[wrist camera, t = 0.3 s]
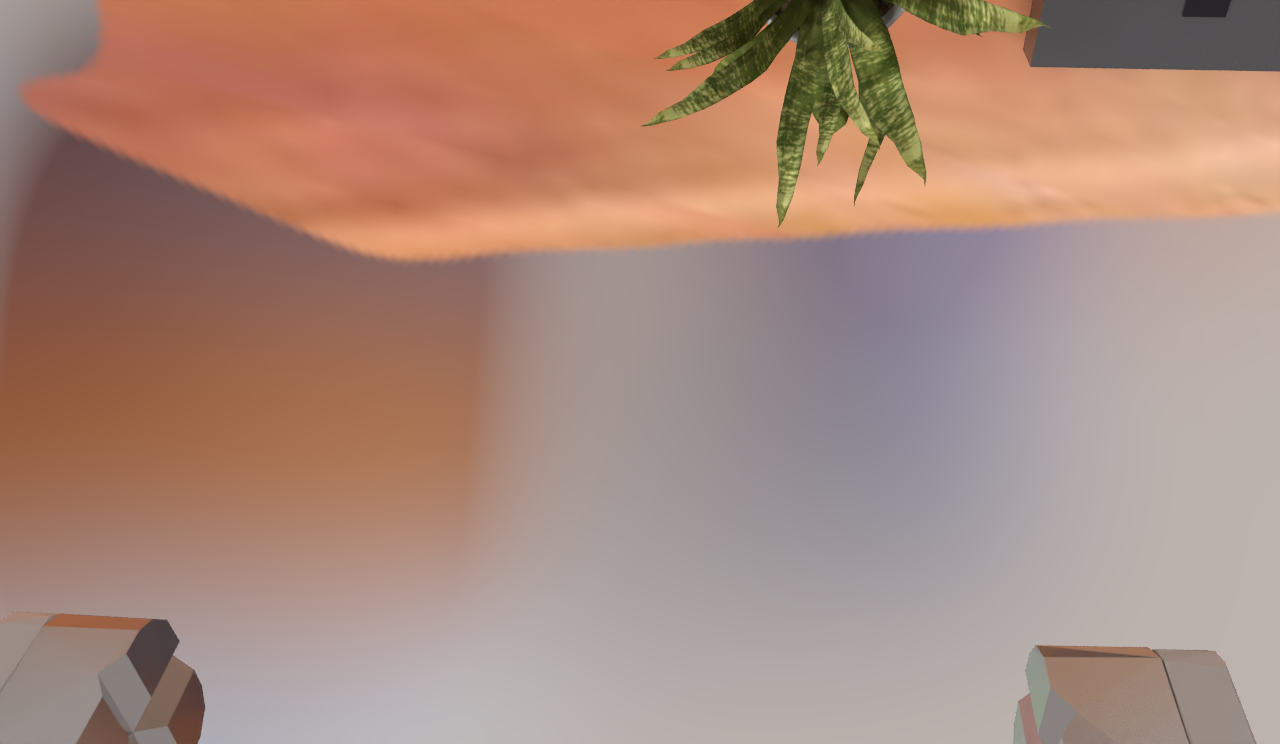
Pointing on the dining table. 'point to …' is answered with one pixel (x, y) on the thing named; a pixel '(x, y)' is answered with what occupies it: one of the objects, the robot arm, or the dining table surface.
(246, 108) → the dining table surface
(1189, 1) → the console
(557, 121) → the dining table surface
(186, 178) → the dining table surface
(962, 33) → the house plant
